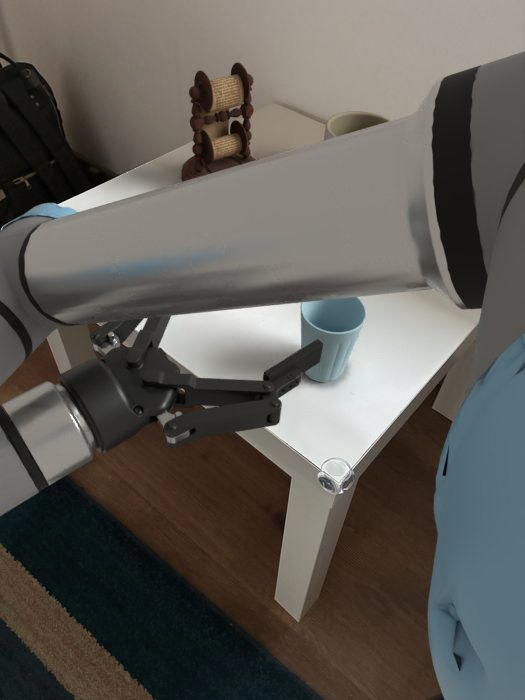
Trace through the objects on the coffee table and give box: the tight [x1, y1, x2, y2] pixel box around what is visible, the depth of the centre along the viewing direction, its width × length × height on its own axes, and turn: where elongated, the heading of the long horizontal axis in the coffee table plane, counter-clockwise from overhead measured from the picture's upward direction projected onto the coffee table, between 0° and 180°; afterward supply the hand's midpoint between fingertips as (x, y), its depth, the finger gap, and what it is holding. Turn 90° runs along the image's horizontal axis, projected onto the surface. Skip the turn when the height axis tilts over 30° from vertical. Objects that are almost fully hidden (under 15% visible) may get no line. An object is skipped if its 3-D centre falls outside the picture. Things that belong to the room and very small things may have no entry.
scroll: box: [180, 62, 257, 182], centre depth 90 cm, size 15×15×20 cm
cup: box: [300, 297, 368, 383], centre depth 66 cm, size 8×8×10 cm
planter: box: [323, 110, 392, 141], centre depth 95 cm, size 12×12×11 cm
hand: (272, 309), depth 54 cm, fingers open, 13 cm apart
